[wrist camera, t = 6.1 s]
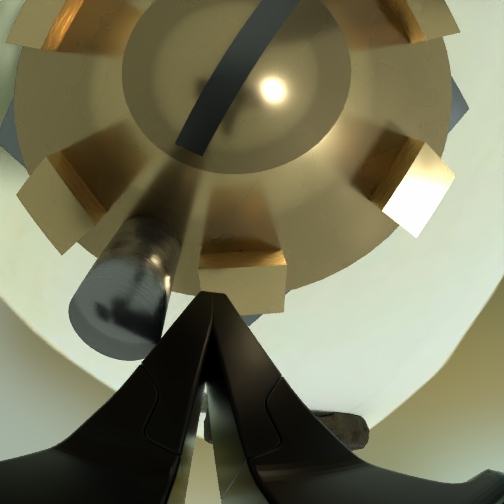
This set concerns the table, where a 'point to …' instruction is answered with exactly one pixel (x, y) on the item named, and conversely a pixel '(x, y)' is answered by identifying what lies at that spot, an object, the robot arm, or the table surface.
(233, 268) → the ring nut
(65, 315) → the table surface
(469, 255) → the table surface
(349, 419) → the rough bark branch
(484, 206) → the table surface
